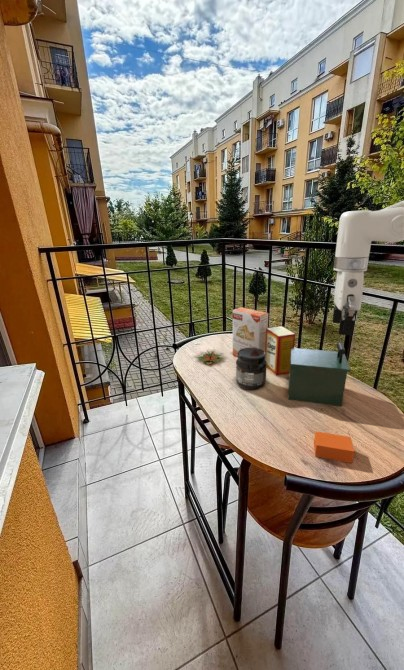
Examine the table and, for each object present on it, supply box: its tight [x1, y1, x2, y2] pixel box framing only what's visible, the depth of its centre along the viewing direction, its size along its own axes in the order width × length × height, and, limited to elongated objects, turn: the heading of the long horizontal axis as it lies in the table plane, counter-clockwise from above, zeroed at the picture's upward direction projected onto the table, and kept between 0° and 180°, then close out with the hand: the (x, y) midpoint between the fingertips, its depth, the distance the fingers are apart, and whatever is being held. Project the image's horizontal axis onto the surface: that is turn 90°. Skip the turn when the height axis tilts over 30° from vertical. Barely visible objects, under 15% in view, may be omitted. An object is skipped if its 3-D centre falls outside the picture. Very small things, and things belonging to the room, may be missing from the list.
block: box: [313, 431, 355, 464], centre depth 67 cm, size 8×5×3 cm, turn 73°
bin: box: [287, 359, 348, 407], centre depth 90 cm, size 16×13×12 cm
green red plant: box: [197, 349, 225, 366], centre depth 118 cm, size 12×12×5 cm
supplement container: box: [235, 348, 267, 391], centre depth 97 cm, size 10×10×12 cm
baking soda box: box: [265, 325, 296, 377], centre depth 106 cm, size 10×6×16 cm
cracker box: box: [232, 306, 269, 357], centre depth 115 cm, size 14×6×21 cm, turn 42°
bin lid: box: [291, 342, 352, 373], centre depth 87 cm, size 16×13×5 cm
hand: (341, 328), depth 76 cm, fingers open, 9 cm apart
